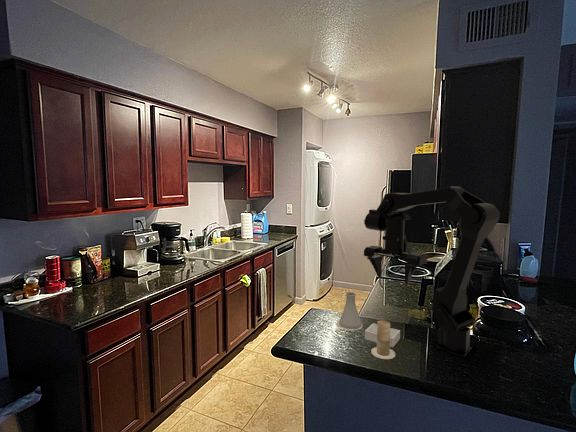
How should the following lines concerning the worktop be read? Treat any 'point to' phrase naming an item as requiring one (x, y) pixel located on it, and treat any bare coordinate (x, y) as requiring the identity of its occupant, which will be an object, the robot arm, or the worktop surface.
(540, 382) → the worktop surface
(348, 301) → the flask
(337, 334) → the worktop surface
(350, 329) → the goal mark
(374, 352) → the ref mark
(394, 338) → the grey cover
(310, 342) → the worktop surface
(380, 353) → the birch peg
